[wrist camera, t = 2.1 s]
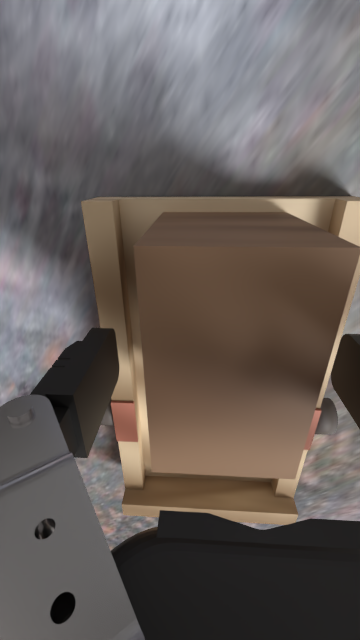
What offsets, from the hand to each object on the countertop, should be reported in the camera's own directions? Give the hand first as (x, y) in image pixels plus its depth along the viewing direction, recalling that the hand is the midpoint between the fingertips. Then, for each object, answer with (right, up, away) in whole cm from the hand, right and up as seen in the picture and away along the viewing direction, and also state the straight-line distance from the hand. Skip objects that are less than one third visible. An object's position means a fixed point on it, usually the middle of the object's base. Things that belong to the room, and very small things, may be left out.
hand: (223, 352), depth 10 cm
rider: (0, +2, +3) cm, 4 cm away
